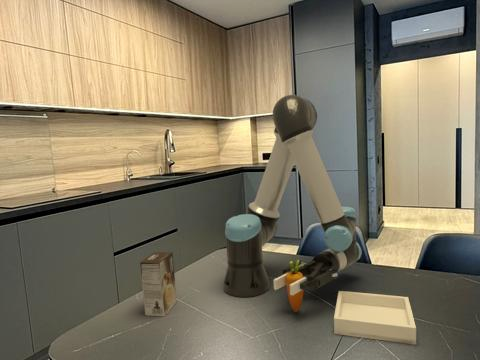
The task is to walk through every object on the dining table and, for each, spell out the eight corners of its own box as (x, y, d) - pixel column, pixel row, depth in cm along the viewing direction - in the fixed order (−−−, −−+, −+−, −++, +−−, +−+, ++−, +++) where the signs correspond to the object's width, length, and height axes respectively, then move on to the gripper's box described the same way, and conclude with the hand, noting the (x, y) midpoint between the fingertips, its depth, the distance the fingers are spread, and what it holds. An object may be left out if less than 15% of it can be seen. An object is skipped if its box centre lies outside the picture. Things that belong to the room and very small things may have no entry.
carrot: (299, 306, 99) (297, 255, 97) (308, 314, 94) (306, 261, 93) (283, 310, 97) (281, 258, 96) (291, 318, 93) (289, 264, 91)
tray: (334, 333, 85) (333, 318, 84) (339, 304, 99) (338, 290, 99) (416, 344, 78) (416, 328, 78) (408, 311, 93) (408, 297, 93)
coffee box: (158, 301, 108) (153, 251, 106) (177, 302, 107) (173, 251, 105) (144, 316, 99) (139, 261, 97) (165, 317, 98) (160, 262, 96)
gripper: (356, 281, 101) (311, 311, 85) (305, 267, 114) (258, 292, 98) (355, 256, 101) (310, 282, 84) (304, 245, 113) (257, 266, 97)
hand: (282, 287), depth 91 cm, fingers closed on carrot, 5 cm apart
